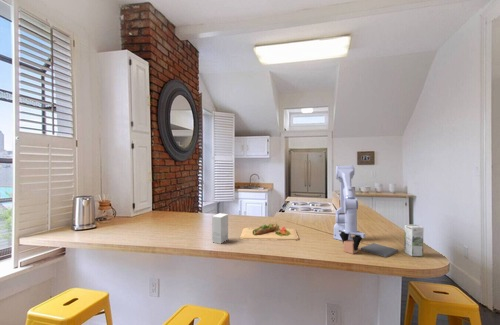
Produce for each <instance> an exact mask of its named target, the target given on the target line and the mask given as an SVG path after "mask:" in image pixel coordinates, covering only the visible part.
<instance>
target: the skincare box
mask: <svg viewBox="0 0 500 325" xmlns="http://www.w3.org/2000/svg"><path fill="white" fill-rule="evenodd" d="M211 222H212V223H211V226H212V228H211V229H212V230H211V232H212V233H211V243H212V242H215V243H214V244H217V243H222V244H224V243H225V242H227V241H229V214H228V213H221V212H219V213H216V214H215V215H212V217H211ZM226 240H227V241H226ZM224 241H225V242H224ZM223 242H224V243H223Z"/></svg>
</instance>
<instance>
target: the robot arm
mask: <svg viewBox="0 0 500 325" xmlns="http://www.w3.org/2000/svg"><path fill="white" fill-rule="evenodd" d="M354 175H355V166H354V165H336V166H335V179H336V180H338V182H339V200H340V202H339V203H340V204H339V205H340V207H338V209H336V210H335V215H334V217H335V219H334V220H335V223H334V225H333V237H332V239H335V240H338V241H341V242H342V245H344V241H346V240H353V241H354V250H355V251H356V250H358V251H359V247H360V246H359V245H360V243H361V241H362V240H363V239H365V238H366V233H365V232H362V231H358V227H357V226H358V223H357V222H358V219H357V218H358V211H359V200H358V198H357V196H356V191H355V188H354V187H353V186H352V180H353V178H354Z"/></svg>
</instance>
